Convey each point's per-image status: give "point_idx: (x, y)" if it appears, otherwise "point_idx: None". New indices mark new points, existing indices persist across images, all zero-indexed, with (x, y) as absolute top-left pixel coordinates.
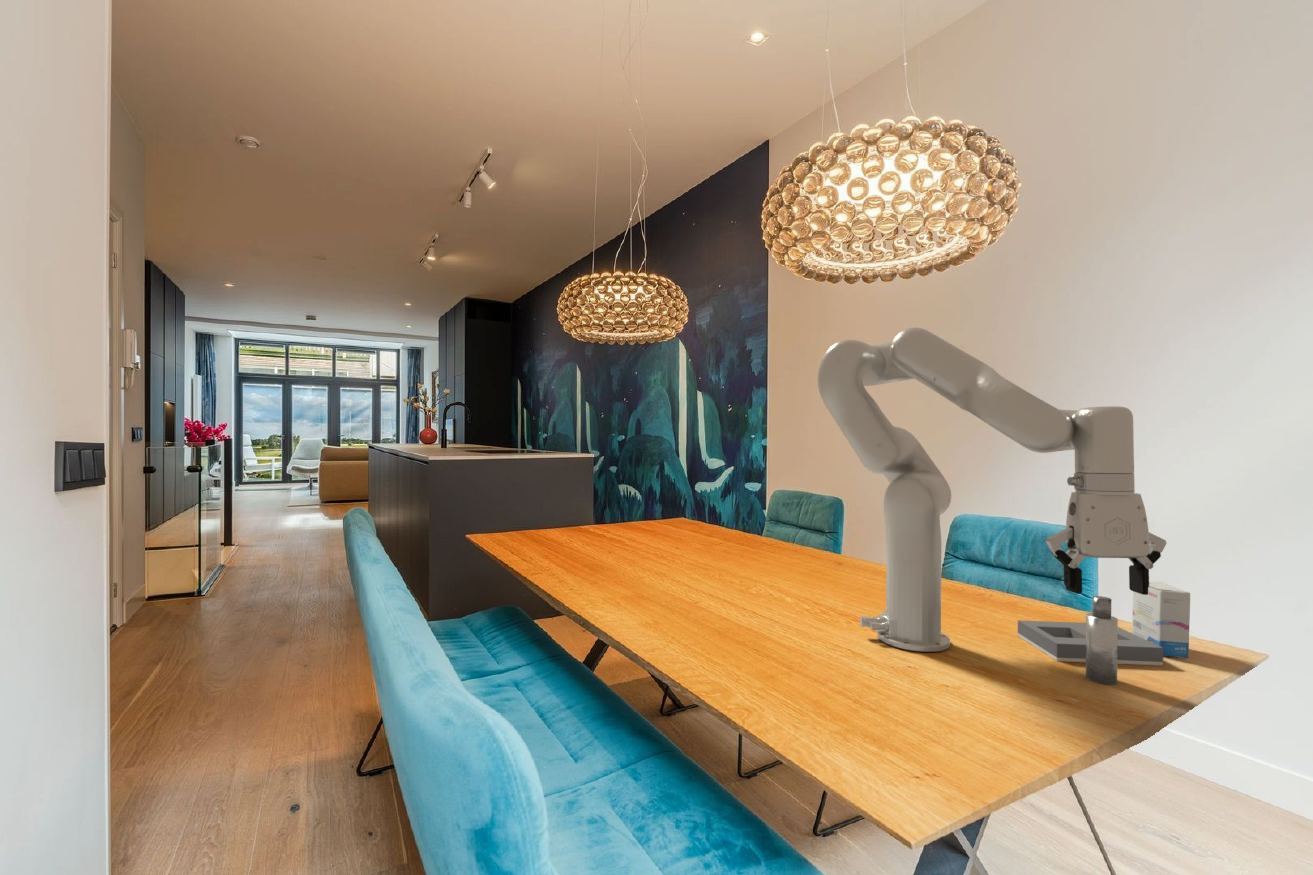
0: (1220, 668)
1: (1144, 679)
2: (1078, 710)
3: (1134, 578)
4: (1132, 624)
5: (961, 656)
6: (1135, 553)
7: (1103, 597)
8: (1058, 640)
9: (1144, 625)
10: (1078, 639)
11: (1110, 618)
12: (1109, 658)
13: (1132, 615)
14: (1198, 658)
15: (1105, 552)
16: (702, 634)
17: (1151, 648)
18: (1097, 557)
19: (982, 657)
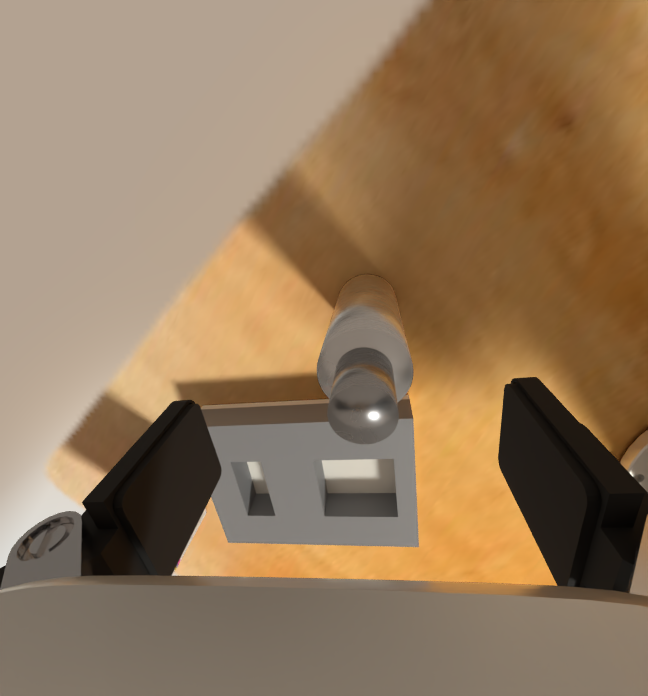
0: (111, 408)
1: (271, 324)
2: (554, 53)
3: (183, 495)
4: (191, 539)
5: (641, 386)
6: (53, 626)
7: (350, 425)
8: (396, 439)
9: None
10: (343, 451)
11: (345, 353)
12: (363, 290)
13: (181, 558)
14: (129, 448)
15: (477, 659)
16: None
17: (208, 425)
18: (539, 586)
19: (585, 388)
